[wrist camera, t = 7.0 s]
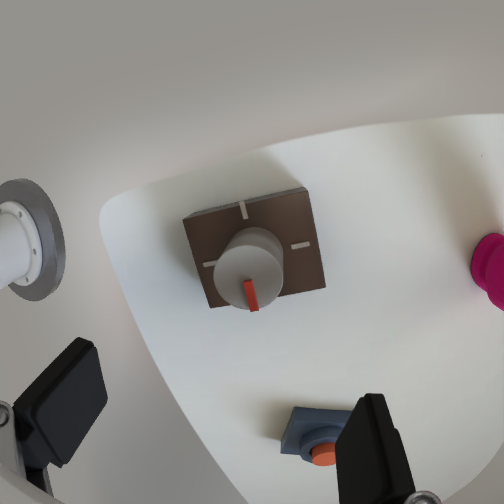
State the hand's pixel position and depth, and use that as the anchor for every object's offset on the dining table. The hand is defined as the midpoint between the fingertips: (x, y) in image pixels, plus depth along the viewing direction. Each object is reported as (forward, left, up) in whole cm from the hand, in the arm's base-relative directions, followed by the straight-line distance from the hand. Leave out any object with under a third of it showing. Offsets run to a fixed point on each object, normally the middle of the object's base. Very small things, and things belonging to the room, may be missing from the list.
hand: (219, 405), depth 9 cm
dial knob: (0, 0, -15) cm, 15 cm away
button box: (+12, -23, -18) cm, 32 cm away
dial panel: (0, 0, -18) cm, 18 cm away
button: (+12, -23, -15) cm, 30 cm away
